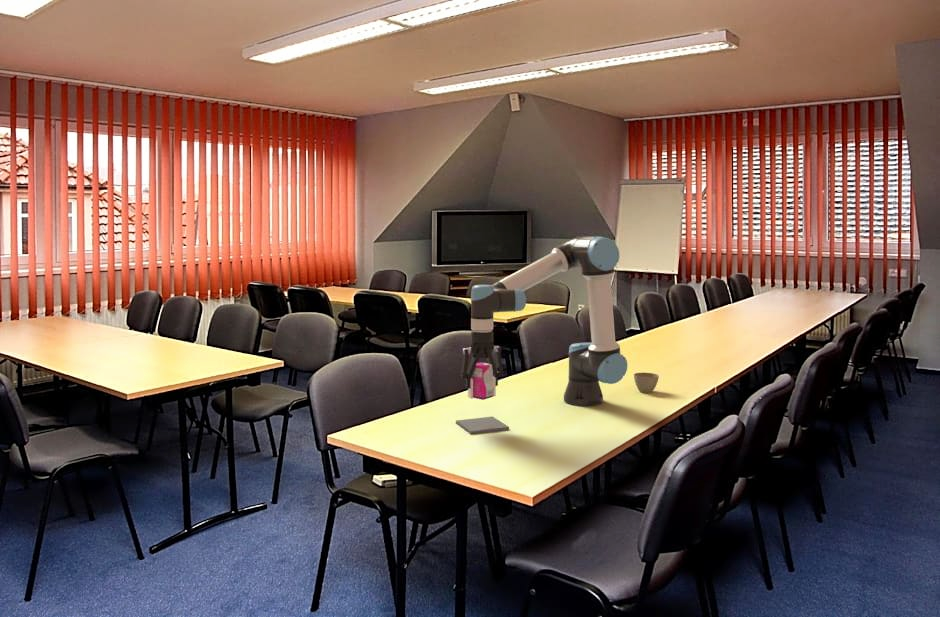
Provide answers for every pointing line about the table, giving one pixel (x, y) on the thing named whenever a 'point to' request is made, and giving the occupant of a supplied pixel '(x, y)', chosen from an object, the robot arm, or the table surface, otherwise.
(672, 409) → the table surface
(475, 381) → the supplement box
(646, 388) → the flower pot
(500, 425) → the gray mat
